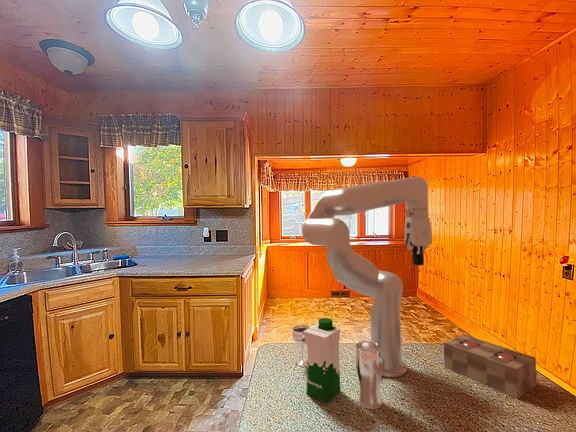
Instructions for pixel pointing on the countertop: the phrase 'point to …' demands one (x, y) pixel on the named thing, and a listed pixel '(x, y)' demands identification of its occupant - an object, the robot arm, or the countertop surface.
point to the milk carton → (323, 360)
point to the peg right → (505, 356)
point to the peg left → (470, 344)
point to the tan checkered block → (491, 365)
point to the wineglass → (300, 339)
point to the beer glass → (369, 373)
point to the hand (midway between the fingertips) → (418, 264)
